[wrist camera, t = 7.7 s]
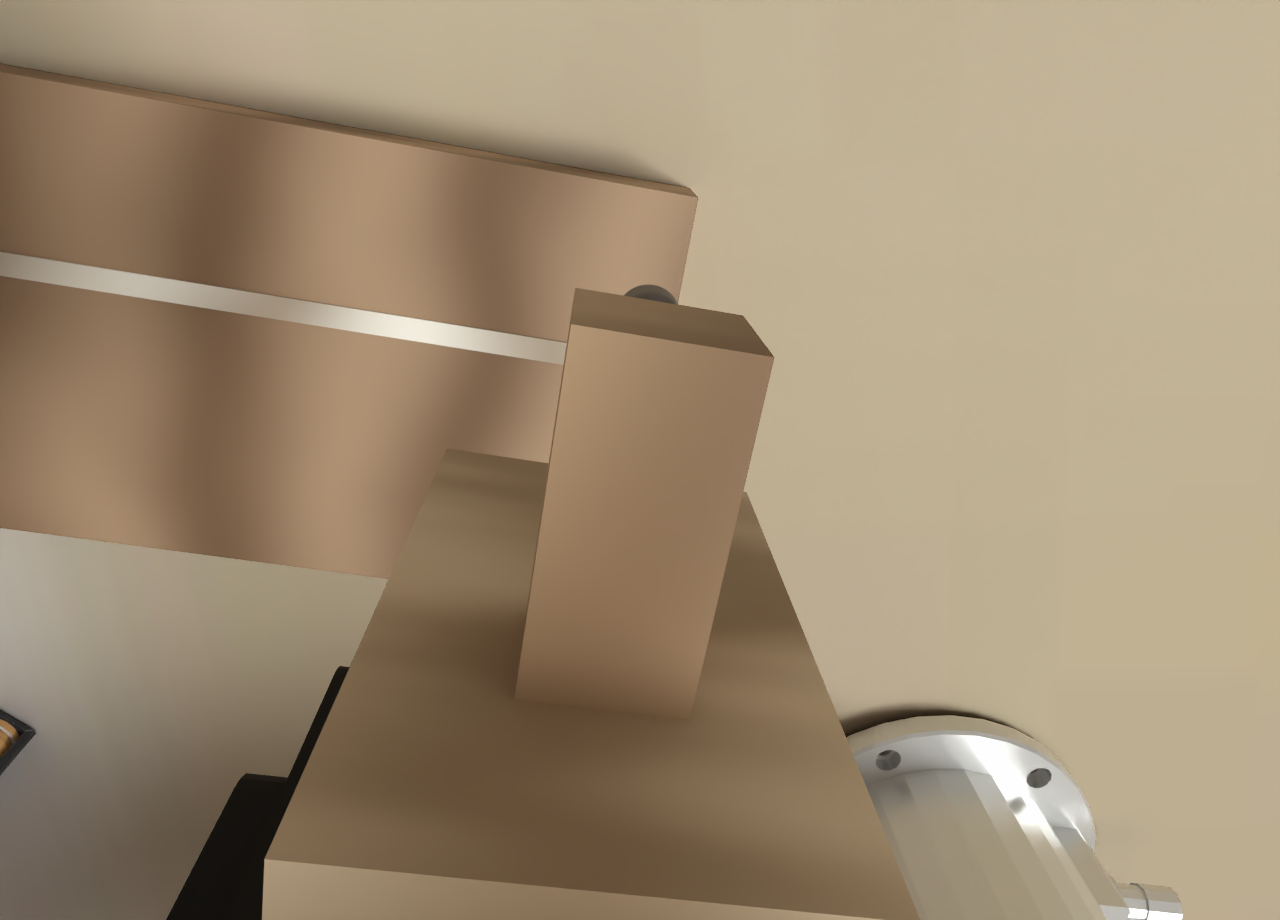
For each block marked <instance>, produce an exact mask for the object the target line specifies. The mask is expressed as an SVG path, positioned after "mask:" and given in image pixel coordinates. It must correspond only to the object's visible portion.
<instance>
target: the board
mask: <svg viewBox="0 0 1280 920" xmlns="http://www.w3.org/2000/svg"><path fill="white" fill-rule="evenodd" d="M697 202H698V197H697V196H696V195H695V194H694V193H693V191H692V190H691V189H690V188H685V187H680V186H674V185H669V184H663V183H658V182H652V181H647V180H641V179H636V178H630V177H625V176H619V175H614V174H608V173H602V172H597V171H591V170H586V169H580V168H575V167H569V166H564V165H558V164H553V163H547V162H542V161H536V160H531V159H525V158H520V157H514V156H508V155H503V154H497V153H492V152H486V151H481V150H475V149H470V148H464V147H459V146H453V145H448V144H442V143H437V142H431V141H426V140H420V139H414V138H409V137H403V136H398V135H392V134H387V133H381V132H376V131H370V130H365V129H359V128H354V127H348V126H343V125H337V124H332V123H326V122H320V121H315V120H309V119H304V118H298V117H293V116H287V115H282V114H276V113H271V112H265V111H260V110H254V109H249V108H243V107H238V106H232V105H226V104H221V103H215V102H210V101H204V100H199V99H193V98H188V97H182V96H177V95H171V94H166V93H160V92H155V91H149V90H144V89H138V88H132V87H127V86H121V85H116V84H110V83H105V82H99V81H94V80H88V79H83V78H77V77H72V76H66V75H61V74H55V73H50V72H44V71H38V70H33V69H27V68H22V67H16V66H11V65H5V64H0V528H6V529H13V530H21V531H29V532H36V533H44V534H51V535H59V536H67V537H74V538H82V539H90V540H97V541H105V542H112V543H120V544H128V545H135V546H143V547H150V548H158V549H166V550H173V551H181V552H188V553H196V554H204V555H211V556H219V557H227V558H234V559H242V560H249V561H257V562H265V563H272V564H280V565H287V566H295V567H303V568H310V569H318V570H325V571H333V572H341V573H348V574H356V575H363V576H371V577H379V578H386V579H389V578H390V576H391V573H392V571H393V569H394V567H395V564H396V562H397V560H398V558H399V555H400V553H401V551H402V549H403V546H404V544H405V542H406V540H407V537H408V535H409V533H410V531H411V528H412V526H413V524H414V522H415V519H416V517H417V515H418V512H419V510H420V508H421V506H422V503H423V501H424V499H425V497H426V494H427V492H428V490H429V488H430V485H431V483H432V481H433V479H434V476H435V474H436V472H437V470H438V467H439V465H440V463H441V461H442V458H443V456H444V454H445V452H446V449H447V448H448V449H455V450H461V451H468V452H475V453H482V454H489V455H496V456H502V457H509V458H516V459H523V460H530V461H536V462H543V463H549V457H550V451H551V444H552V438H553V431H554V424H555V418H556V411H557V404H558V398H559V391H560V385H561V378H562V371H563V365H564V358H565V352H566V345H567V338H568V332H569V325H570V318H571V312H572V305H573V299H574V292H575V288H581V289H587V290H593V291H599V292H605V293H611V294H617V295H623V296H624V295H625V294H626V293H627V292H628V291H629V290H631V289H633V288H635V287H637V286H640V285H649V284H650V285H656V286H660V287H662V288H664V289H666V290H667V291H669V292H670V293H671V294H672V295H673V296H674V298H675V299H676V301H677V302H678V300H679V295H680V290H681V284H682V279H683V274H684V269H685V264H686V259H687V253H688V248H689V243H690V238H691V233H692V228H693V222H694V217H695V212H696V207H697Z"/></svg>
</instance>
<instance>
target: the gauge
mask: <svg viewBox="0 0 1280 920" xmlns="http://www.w3.org/2000/svg"><path fill="white" fill-rule="evenodd" d="M773 361H774V356H773V355H772V354H771V352H770V351H769V350H768V348H767V347H766V346H765V344H764V343H763V342H762V340H761V339H760V338H759V336H758V335H757V334H756V332H755V331H754V330H753V328H752V327H751V326H750V324H749V323H748V322H747V320H746V319H745V318H744V316H742V315H736V314H730V313H724V312H718V311H712V310H706V309H700V308H694V307H688V306H682V305H678V302H677V301H676V299H675V298H674V296H673V295H672V294H671V293H670V292H669V291H667V290H666V289H664V288H662V287H660V286H656V285H650V284H649V285H640V286H637V287H635V288H633V289H631V290H629V291H628V292H627V293H626V294H625V295H624V296H623V295H617V294H611V293H605V292H599V291H593V290H587V289H581V288H575V292H574V299H573V305H572V312H571V318H570V325H569V332H568V338H567V345H566V352H565V358H564V365H563V371H562V378H561V385H560V391H559V398H558V404H557V411H556V418H555V424H554V431H553V438H552V444H551V451H550V457H549V463H543V462H536V461H530V460H523V459H516V458H509V457H502V456H496V455H489V454H482V453H475V452H468V451H461V450H455V449H448V448H447V449H446V452H445V454H444V456H443V458H442V461H441V463H440V465H439V467H438V470H437V472H436V474H435V476H434V479H433V481H432V483H431V485H430V488H429V490H428V492H427V494H426V497H425V499H424V501H423V503H422V506H421V508H420V510H419V512H418V515H417V517H416V519H415V522H414V524H413V526H412V528H411V531H410V533H409V535H408V537H407V540H406V542H405V544H404V546H403V549H402V551H401V553H400V555H399V558H398V560H397V562H396V564H395V567H394V569H393V571H392V573H391V576H390V578H389V580H388V582H387V585H386V587H385V589H384V591H383V594H382V596H381V598H380V600H379V603H378V605H377V607H376V609H375V612H374V614H373V616H372V618H371V621H370V623H369V625H368V627H367V630H366V632H365V634H364V636H363V639H362V641H361V643H360V645H359V648H358V650H357V652H356V654H355V657H354V659H353V661H352V663H351V666H350V668H349V670H348V672H347V675H346V677H345V679H344V681H343V684H342V686H341V688H340V690H339V693H338V695H337V697H336V699H335V702H334V704H333V706H332V708H331V711H330V713H329V715H328V717H327V720H326V722H325V724H324V726H323V729H322V731H321V733H320V735H319V738H318V740H317V742H316V744H315V747H314V749H313V751H312V753H311V756H310V758H309V760H308V762H307V765H306V767H305V769H304V771H303V774H302V776H301V778H300V780H299V783H298V785H297V787H296V789H295V792H294V794H293V796H292V798H291V801H290V803H289V805H288V807H287V810H286V812H285V814H284V816H283V819H282V821H281V823H280V825H279V828H278V830H277V832H276V834H275V837H274V839H273V841H272V843H271V846H270V848H269V850H268V852H267V855H266V857H265V860H264V883H263V905H262V920H920V918H919V915H918V913H917V910H916V908H915V906H914V903H913V901H912V898H911V896H910V893H909V891H908V888H907V886H906V883H905V881H904V878H903V876H902V874H901V871H900V869H899V866H898V864H897V861H896V859H895V856H894V854H893V851H892V849H891V847H890V844H889V842H888V839H887V837H886V834H885V832H884V829H883V827H882V824H881V822H880V819H879V817H878V815H877V812H876V810H875V807H874V805H873V802H872V800H871V797H870V795H869V792H868V790H867V788H866V785H865V783H864V780H863V778H862V775H861V773H860V770H859V768H858V765H857V763H856V760H855V758H854V756H853V753H852V751H851V748H850V746H849V743H848V741H847V738H846V736H845V733H844V731H843V728H842V726H841V724H840V721H839V719H838V716H837V714H836V711H835V709H834V706H833V704H832V701H831V699H830V697H829V694H828V692H827V689H826V687H825V684H824V682H823V679H822V677H821V674H820V672H819V669H818V667H817V665H816V662H815V660H814V657H813V655H812V652H811V650H810V647H809V645H808V642H807V640H806V637H805V635H804V633H803V630H802V628H801V625H800V623H799V620H798V618H797V615H796V613H795V610H794V608H793V606H792V603H791V601H790V598H789V596H788V593H787V591H786V588H785V586H784V583H783V581H782V578H781V576H780V574H779V571H778V569H777V566H776V564H775V561H774V559H773V556H772V554H771V551H770V549H769V547H768V544H767V542H766V539H765V537H764V534H763V532H762V529H761V527H760V524H759V522H758V519H757V517H756V515H755V512H754V510H753V507H752V505H751V502H750V500H749V497H748V495H747V492H743V490H744V486H745V482H746V477H747V473H748V469H749V464H750V460H751V456H752V451H753V447H754V443H755V438H756V434H757V430H758V426H759V421H760V417H761V413H762V408H763V404H764V400H765V395H766V391H767V387H768V383H769V378H770V374H771V370H772V365H773Z"/></svg>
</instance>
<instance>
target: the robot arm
mask: <svg viewBox="0 0 1280 920" xmlns="http://www.w3.org/2000/svg"><path fill="white" fill-rule="evenodd" d="M349 668H350V667H343V666H340V667H338V669H337V670H336V672H335V674H334V676H333V679H332V681H331V683H330V685H329V688H328V690H327V692H326V694H325V696H324V699H323V701H322V703H321V705H320V708H319V710H318V712H317V714H316V716H315V719H314V721H313V723H312V725H311V728H310V730H309V732H308V734H307V737H306V739H305V741H304V743H303V745H302V748H301V750H300V752H299V754H298V757H297V759H296V761H295V763H294V766H293V768H292V770H291V772H290V774H289V777H288V778H285V777H276V776H266V775H257V774H248V773H246V774H245V775H244V776H243V777H242V778H241V779H240V780H239V782H238V783H237V785H236V787H235V788H234V790H233V792H232V794H231V796H230V798H229V800H228V802H227V804H226V805H225V807H224V809H223V811H222V813H221V815H220V817H219V819H218V821H217V823H216V825H215V827H214V829H213V831H212V832H211V834H210V836H209V838H208V840H207V842H206V844H205V846H204V848H203V850H202V852H201V854H200V856H199V858H198V860H197V861H196V863H195V865H194V867H193V869H192V871H191V873H190V875H189V877H188V879H187V881H186V883H185V885H184V887H183V888H182V890H181V892H180V894H179V896H178V898H177V900H176V902H175V904H174V906H173V908H172V910H171V912H170V914H169V915H168V917H167V919H166V920H262V905H263V883H264V860H265V857H266V855H267V852H268V850H269V848H270V846H271V843H272V841H273V839H274V837H275V834H276V832H277V830H278V828H279V825H280V823H281V821H282V819H283V816H284V814H285V812H286V810H287V807H288V805H289V803H290V801H291V798H292V796H293V794H294V792H295V789H296V787H297V785H298V783H299V780H300V778H301V776H302V774H303V771H304V769H305V767H306V765H307V762H308V760H309V758H310V756H311V753H312V751H313V749H314V747H315V744H316V742H317V740H318V738H319V735H320V733H321V731H322V729H323V726H324V724H325V722H326V720H327V717H328V715H329V713H330V711H331V708H332V706H333V704H334V702H335V699H336V697H337V695H338V693H339V690H340V688H341V686H342V684H343V681H344V679H345V677H346V675H347V672H348V670H349ZM846 738H847V741H848V743H849V746H850V748H851V751H852V753H853V756H854V758H855V760H856V763H857V765H858V768H859V770H860V773H861V775H862V778H863V780H864V783H865V785H866V788H867V790H868V792H869V795H870V797H871V800H872V802H873V805H874V807H875V810H876V812H877V815H878V817H879V819H880V822H881V824H882V827H883V829H884V832H885V834H886V837H887V839H888V842H889V844H890V847H891V849H892V851H893V854H894V856H895V859H896V861H897V864H898V866H899V869H900V871H901V874H902V876H903V878H904V881H905V883H906V886H907V888H908V891H909V893H910V896H911V898H912V901H913V903H914V906H915V908H916V910H917V913H918V915H919V918H920V920H1182V916H1183V912H1182V905H1181V901H1180V899H1179V897H1178V895H1177V893H1176V892H1175V891H1174V890H1173V889H1171V888H1170V887H1164V886H1155V885H1145V884H1135V883H1131V884H1130V885H1127V884H1118V883H1116V881H1115V880H1114V879H1113V877H1111V876H1109V875H1107V873H1106V872H1105V870H1104V869H1103V867H1102V866H1101V864H1100V862H1099V861H1098V859H1097V858H1096V856H1095V834H1096V832H1095V827H1094V823H1093V818H1092V814H1091V809H1090V807H1089V805H1088V803H1087V801H1086V799H1085V797H1084V795H1083V793H1082V791H1081V790H1080V788H1079V786H1078V784H1077V783H1076V782H1075V780H1074V779H1073V778H1072V776H1071V775H1070V773H1069V772H1068V771H1067V769H1066V768H1065V767H1064V765H1063V764H1062V762H1061V761H1060V760H1059V759H1058V758H1057V757H1056V756H1055V755H1053V754H1052V753H1051V752H1050V751H1049V750H1048V749H1046V748H1045V747H1044V746H1043V745H1042V744H1041V743H1040V742H1038V741H1036V740H1034V739H1032V738H1031V737H1029V736H1027V735H1025V734H1023V733H1021V732H1019V731H1018V730H1016V729H1014V728H1011V727H1008V726H1004V725H1001V724H998V723H995V722H991V721H988V720H985V719H978V718H970V717H962V716H954V715H945V716H919V717H913V718H908V719H902V720H897V721H892V722H887V723H883V724H880V725H877V726H874V727H871V728H869V729H866V730H863V731H860V732H857V733H855V734H852V735H850V736H848V737H846Z"/></svg>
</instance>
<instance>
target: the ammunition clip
mask: <svg viewBox="0 0 1280 920" xmlns="http://www.w3.org/2000/svg"><path fill="white" fill-rule="evenodd" d="M35 734H36V733H35V731H34V730H33V729H31V728H29V727H28V726H26V725H24V724H22V723H21V722H19V721H17V720H16V719H14V718H12V717H11V716H9V715H7V714H5V713H4V712H2V711H0V775H1V774H2V773H3V771H4V770H5V769H6V768H7V767H8V766H9V764H10V763H11V762H12V761H13V760H14V759H15V757H16V756H17V755H18V754H19V753H20V751H21V750H22V749H23V748H24V747H25V746H26V744H27V743H28V742H29V741H30V740H31V739H32V737H33V736H34V735H35Z"/></svg>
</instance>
